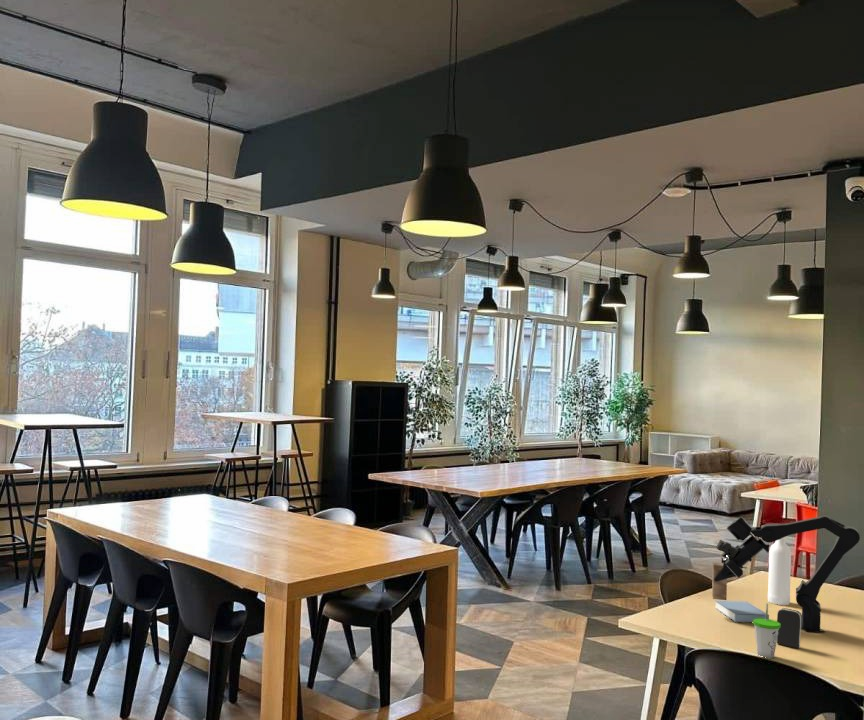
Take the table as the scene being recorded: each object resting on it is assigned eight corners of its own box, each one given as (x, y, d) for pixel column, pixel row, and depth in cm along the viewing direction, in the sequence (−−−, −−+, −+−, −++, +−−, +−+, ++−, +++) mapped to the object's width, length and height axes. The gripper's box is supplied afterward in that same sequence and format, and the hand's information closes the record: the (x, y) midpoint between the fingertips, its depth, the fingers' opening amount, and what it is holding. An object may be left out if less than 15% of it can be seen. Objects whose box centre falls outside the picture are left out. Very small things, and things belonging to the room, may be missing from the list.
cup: (770, 662, 230) (772, 611, 231) (746, 654, 237) (748, 604, 237) (784, 658, 235) (786, 608, 235) (760, 650, 241) (762, 601, 242)
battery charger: (802, 646, 247) (803, 610, 247) (799, 649, 244) (800, 613, 244) (778, 641, 251) (780, 606, 251) (775, 644, 248) (776, 608, 248)
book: (768, 623, 271) (769, 614, 271) (735, 622, 271) (735, 613, 271) (746, 609, 288) (746, 601, 288) (715, 608, 287) (715, 600, 288)
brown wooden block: (725, 597, 279) (725, 563, 279) (726, 600, 275) (727, 566, 275) (712, 595, 280) (712, 562, 281) (713, 598, 276) (713, 564, 276)
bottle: (768, 604, 298) (771, 525, 299) (766, 599, 305) (768, 522, 306) (791, 606, 295) (793, 527, 297) (788, 601, 303) (790, 524, 304)
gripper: (728, 529, 286) (696, 556, 289) (733, 537, 268) (699, 566, 271) (751, 552, 284) (718, 579, 286) (757, 562, 266) (722, 591, 269)
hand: (714, 579), depth 278 cm, fingers closed on brown wooden block, 4 cm apart
